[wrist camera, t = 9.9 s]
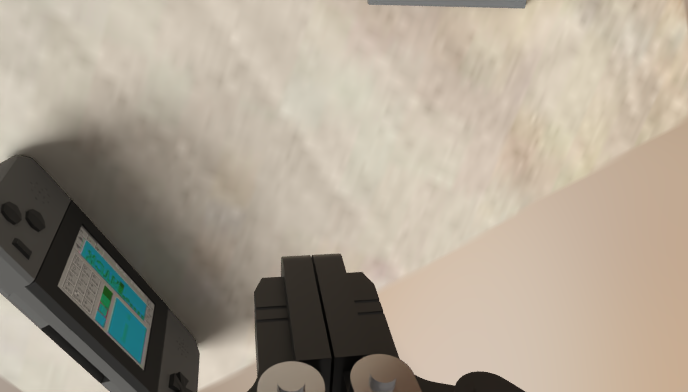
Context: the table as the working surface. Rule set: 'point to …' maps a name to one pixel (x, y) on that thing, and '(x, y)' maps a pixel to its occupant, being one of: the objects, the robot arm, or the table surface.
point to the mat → (454, 3)
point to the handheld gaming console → (86, 289)
